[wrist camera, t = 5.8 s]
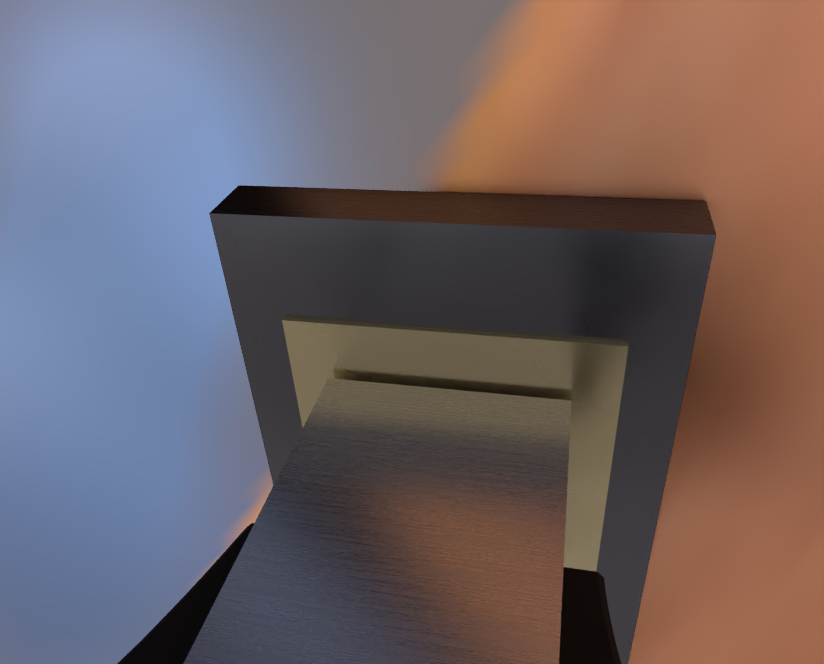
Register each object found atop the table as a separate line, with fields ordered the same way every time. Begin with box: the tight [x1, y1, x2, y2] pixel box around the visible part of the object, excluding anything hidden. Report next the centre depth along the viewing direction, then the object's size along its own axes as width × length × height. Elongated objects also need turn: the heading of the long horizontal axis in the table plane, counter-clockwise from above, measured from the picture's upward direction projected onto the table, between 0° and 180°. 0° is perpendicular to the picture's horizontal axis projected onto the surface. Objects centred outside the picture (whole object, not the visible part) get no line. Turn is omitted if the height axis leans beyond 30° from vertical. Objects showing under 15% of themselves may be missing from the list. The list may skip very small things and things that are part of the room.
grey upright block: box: [183, 378, 571, 664], centre depth 11 cm, size 4×4×6 cm
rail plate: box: [210, 186, 716, 664], centre depth 18 cm, size 8×22×1 cm, turn 4°
